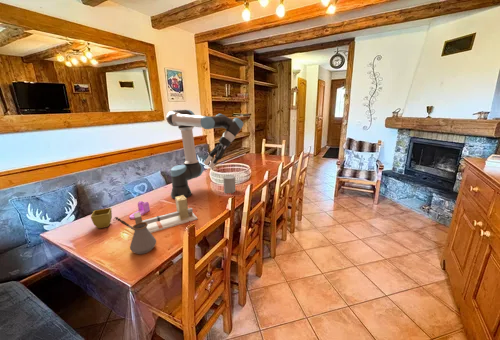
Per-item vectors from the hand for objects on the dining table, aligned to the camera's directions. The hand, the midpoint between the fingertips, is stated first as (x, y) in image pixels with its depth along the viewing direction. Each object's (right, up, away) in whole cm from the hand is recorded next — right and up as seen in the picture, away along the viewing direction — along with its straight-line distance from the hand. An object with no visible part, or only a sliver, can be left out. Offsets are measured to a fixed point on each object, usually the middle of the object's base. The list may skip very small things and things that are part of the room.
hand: (207, 166), depth 139 cm
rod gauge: (-22, -34, -11) cm, 42 cm away
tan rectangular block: (-14, -31, -6) cm, 34 cm away
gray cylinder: (+11, -20, +37) cm, 44 cm away
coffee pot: (-29, -41, -33) cm, 60 cm away
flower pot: (-59, -36, -12) cm, 70 cm away
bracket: (-45, -32, +2) cm, 55 cm away
